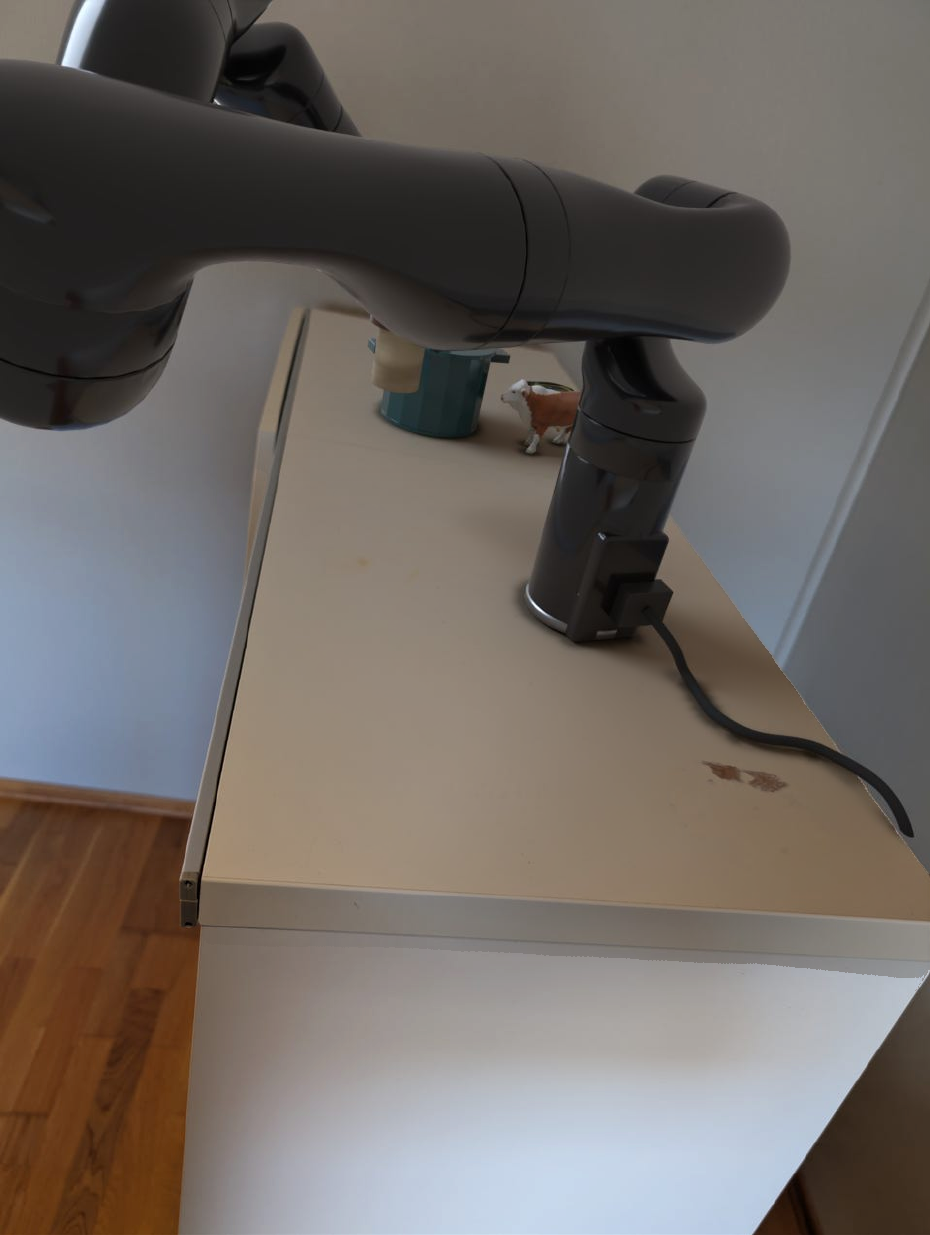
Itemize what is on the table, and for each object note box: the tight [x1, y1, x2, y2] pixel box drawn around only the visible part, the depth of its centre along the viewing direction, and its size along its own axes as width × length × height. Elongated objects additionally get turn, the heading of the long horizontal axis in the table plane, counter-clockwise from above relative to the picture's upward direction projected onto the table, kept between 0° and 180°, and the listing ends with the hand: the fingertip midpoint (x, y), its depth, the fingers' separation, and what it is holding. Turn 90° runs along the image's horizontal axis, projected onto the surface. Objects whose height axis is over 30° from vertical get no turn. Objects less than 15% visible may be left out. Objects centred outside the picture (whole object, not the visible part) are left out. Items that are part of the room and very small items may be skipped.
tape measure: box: [525, 380, 575, 392], centre depth 115 cm, size 7×7×4 cm
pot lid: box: [424, 348, 497, 360], centre depth 99 cm, size 13×13×5 cm
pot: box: [367, 337, 511, 439], centre depth 103 cm, size 12×17×10 cm
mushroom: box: [369, 315, 425, 393], centre depth 77 cm, size 6×6×8 cm
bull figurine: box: [500, 378, 581, 455], centre depth 102 cm, size 4×13×8 cm, turn 115°
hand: (416, 332), depth 78 cm, fingers closed on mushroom, 6 cm apart
